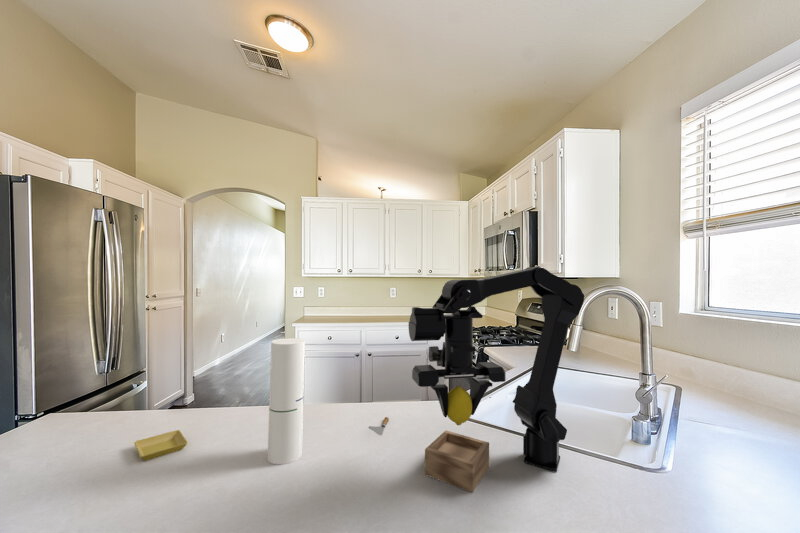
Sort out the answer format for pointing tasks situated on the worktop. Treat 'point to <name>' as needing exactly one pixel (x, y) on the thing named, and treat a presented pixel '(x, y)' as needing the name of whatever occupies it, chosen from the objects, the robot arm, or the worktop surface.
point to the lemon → (459, 405)
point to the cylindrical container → (286, 400)
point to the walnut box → (457, 460)
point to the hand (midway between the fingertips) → (458, 415)
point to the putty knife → (379, 429)
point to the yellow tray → (160, 445)
